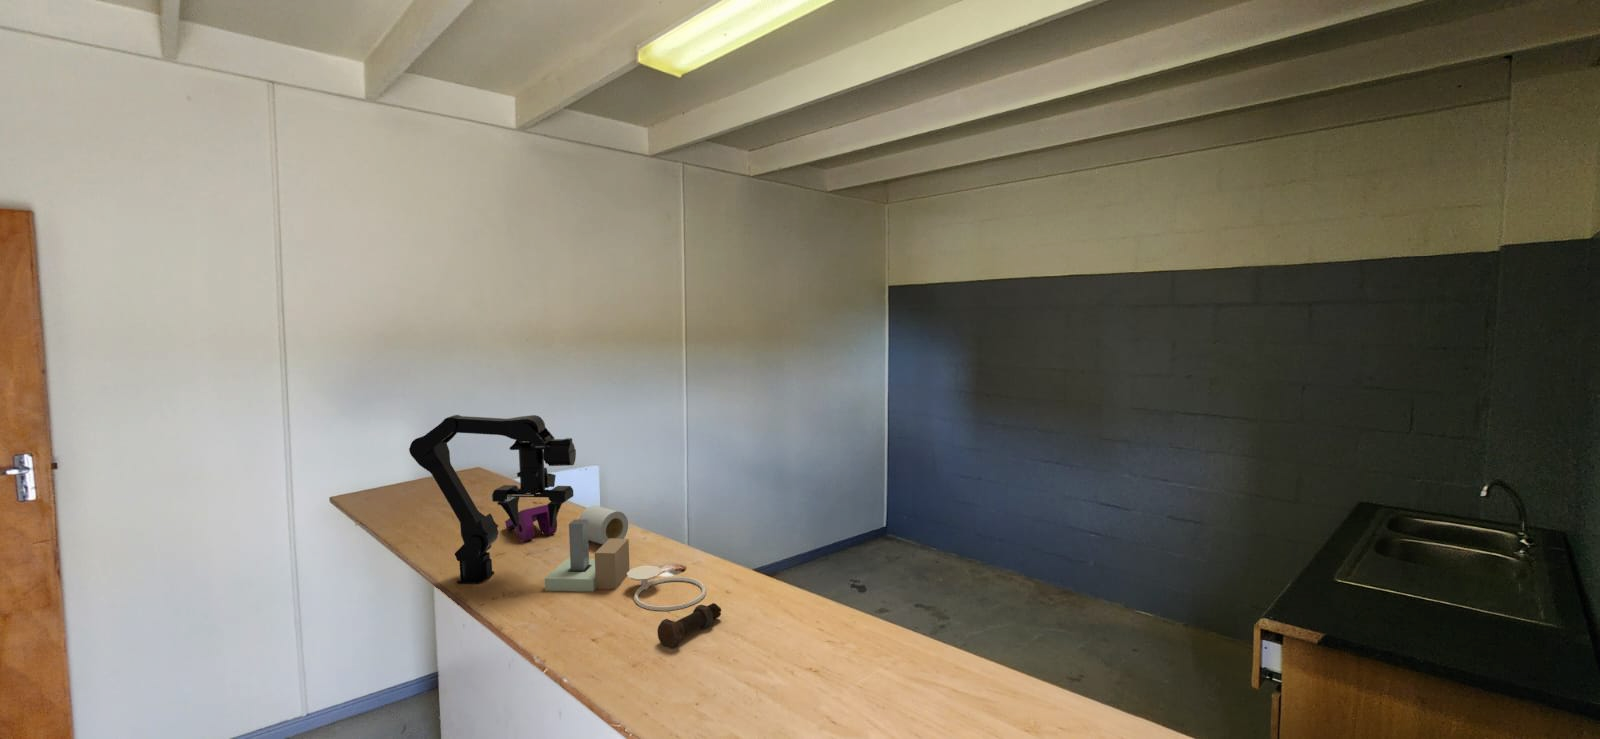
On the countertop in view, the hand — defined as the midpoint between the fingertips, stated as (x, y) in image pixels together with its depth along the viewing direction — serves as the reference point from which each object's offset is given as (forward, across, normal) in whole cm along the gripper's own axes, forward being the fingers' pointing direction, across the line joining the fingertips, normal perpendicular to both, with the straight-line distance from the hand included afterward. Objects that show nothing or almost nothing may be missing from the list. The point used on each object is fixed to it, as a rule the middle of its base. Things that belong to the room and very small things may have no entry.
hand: (534, 526), depth 163 cm
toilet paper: (+13, -8, -25) cm, 29 cm away
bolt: (+14, -47, +26) cm, 55 cm away
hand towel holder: (+14, -35, +8) cm, 39 cm away
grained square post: (+13, -12, +1) cm, 18 cm away
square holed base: (+13, -15, +1) cm, 20 cm away
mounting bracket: (+14, +18, -32) cm, 40 cm away
